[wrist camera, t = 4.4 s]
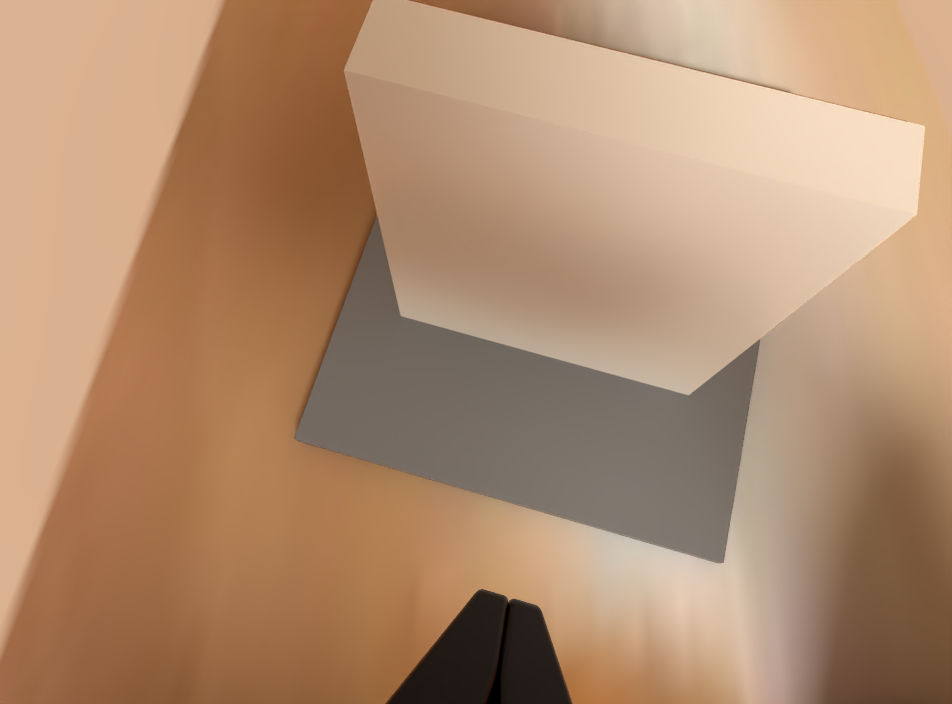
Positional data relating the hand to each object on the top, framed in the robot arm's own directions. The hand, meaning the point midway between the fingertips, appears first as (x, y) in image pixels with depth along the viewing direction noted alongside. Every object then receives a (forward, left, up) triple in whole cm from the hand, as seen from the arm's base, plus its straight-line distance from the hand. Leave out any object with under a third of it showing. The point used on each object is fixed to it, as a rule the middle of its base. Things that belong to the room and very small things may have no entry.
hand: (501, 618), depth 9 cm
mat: (+8, +9, -13) cm, 17 cm away
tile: (+6, +7, -12) cm, 15 cm away
